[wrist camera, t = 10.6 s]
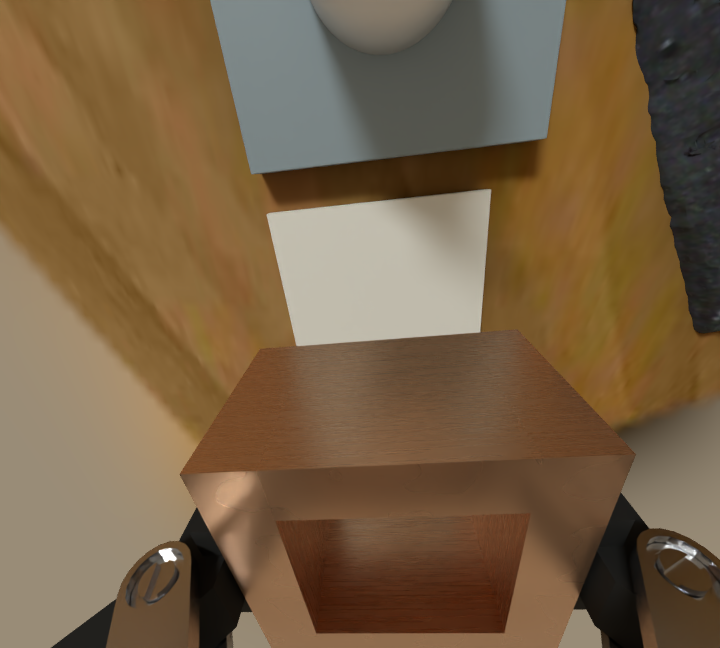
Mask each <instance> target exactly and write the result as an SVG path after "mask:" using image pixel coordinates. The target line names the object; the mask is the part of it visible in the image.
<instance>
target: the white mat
mask: <svg viewBox="0 0 720 648" xmlns="http://www.w3.org/2000/svg"><path fill="white" fill-rule="evenodd" d="M490 197H491V190H490V189H483V190H474V191H465V192H456V193H447V194H438V195H429V196H420V197H411V198H401V199H392V200H383V201H374V202H365V203H356V204H347V205H338V206H329V207H320V208H311V209H302V210H293V211H284V212H274V213H269V214H267V218H268V222H269V227H270V231H271V235H272V240H273V244H274V249H275V253H276V257H277V262H278V266H279V271H280V275H281V279H282V284H283V288H284V292H285V297H286V301H287V306H288V310H289V314H290V319H291V323H292V328H293V332H294V336H295V341H296V345H297V346H306V345H319V344H333V343H346V342H359V341H372V340H386V339H399V338H412V337H425V336H439V335H452V334H465V333H478V332H480V327H481V314H482V301H483V288H484V275H485V262H486V249H487V236H488V223H489V210H490Z"/></svg>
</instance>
